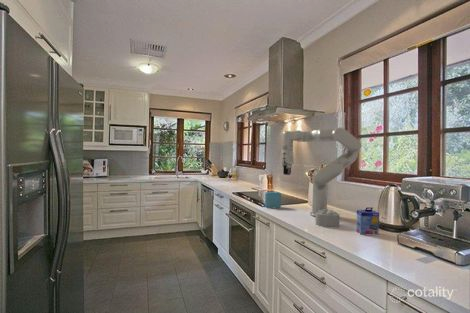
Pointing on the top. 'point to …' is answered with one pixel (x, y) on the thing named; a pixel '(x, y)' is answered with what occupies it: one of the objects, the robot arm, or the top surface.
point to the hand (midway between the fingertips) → (287, 173)
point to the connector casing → (288, 170)
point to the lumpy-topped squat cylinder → (327, 218)
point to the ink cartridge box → (367, 221)
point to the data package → (273, 199)
